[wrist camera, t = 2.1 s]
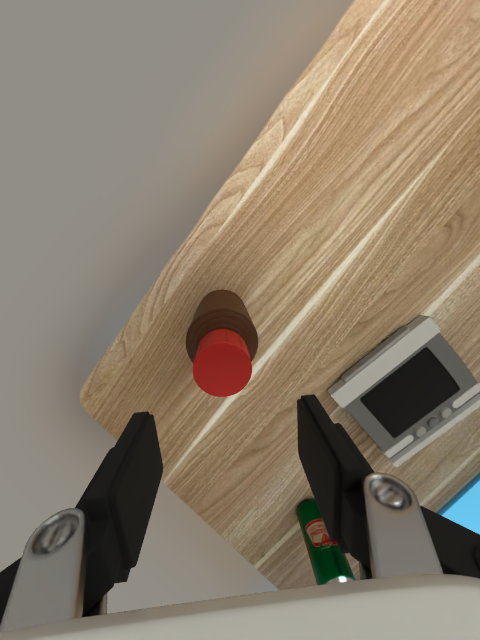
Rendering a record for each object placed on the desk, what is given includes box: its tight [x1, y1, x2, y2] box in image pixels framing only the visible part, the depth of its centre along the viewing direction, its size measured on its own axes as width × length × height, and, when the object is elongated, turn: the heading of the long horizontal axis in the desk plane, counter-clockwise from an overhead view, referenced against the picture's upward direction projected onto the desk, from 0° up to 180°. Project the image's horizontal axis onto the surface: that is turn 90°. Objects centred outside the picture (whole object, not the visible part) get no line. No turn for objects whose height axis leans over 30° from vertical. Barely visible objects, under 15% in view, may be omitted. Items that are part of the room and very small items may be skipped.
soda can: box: [297, 499, 356, 585], centre depth 37 cm, size 5×5×12 cm
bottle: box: [186, 290, 258, 362], centre depth 25 cm, size 6×6×17 cm
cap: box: [193, 329, 252, 397], centre depth 18 cm, size 4×4×3 cm
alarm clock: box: [327, 315, 480, 468], centre depth 37 cm, size 17×5×16 cm
